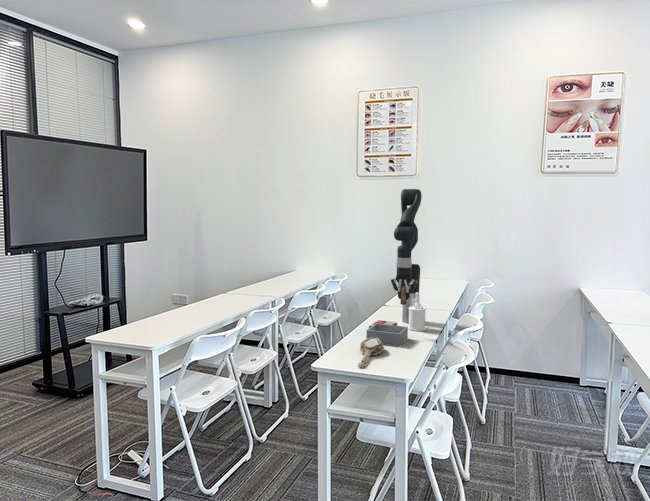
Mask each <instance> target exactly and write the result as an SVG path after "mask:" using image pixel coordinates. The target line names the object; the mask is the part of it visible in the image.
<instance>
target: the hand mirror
mask: <svg viewBox="0 0 650 501" xmlns="http://www.w3.org/2000/svg"><path fill="white" fill-rule="evenodd" d="M384 349H385V347H384V344H383V343H382V342H381V340H380V339H378V338H377V337H376V338H374V337H370V338H368V339H367V338H366V339H364V340H362V341H361V343H360V347H359V351H360V352H361V354H363V357H362V358H361V359H360V362H359V363H357V366H358V368H359V367H361V368H360V369H363V368H365V367H366V363H367V362H368V359H369V357H371V356H377V355H380V354H381V353H382V352H384ZM362 367H363V368H362Z"/></svg>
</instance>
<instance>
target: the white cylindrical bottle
mask: <svg viewBox="0 0 650 501" xmlns="http://www.w3.org/2000/svg"><path fill="white" fill-rule="evenodd" d="M414 299H415V298H414ZM414 299H413V302H414ZM413 302H412V306H411V307H409V323H408V326H407V327H408V330H410V331H413V332H423V331H425V330H426V310H427V308H426V307H424V306H422V305H421V303H420V292H419V293H418V292H416V300H415V302H416V303H415V302H414V304H415V306H414V305H413Z"/></svg>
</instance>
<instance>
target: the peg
mask: <svg viewBox="0 0 650 501" xmlns="http://www.w3.org/2000/svg"><path fill="white" fill-rule="evenodd" d="M399 304H400V305H402V306H403V305H406V304H407V300H406V287H405V285H401V299H400V303H399Z"/></svg>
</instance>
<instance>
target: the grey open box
mask: <svg viewBox="0 0 650 501" xmlns="http://www.w3.org/2000/svg"><path fill="white" fill-rule="evenodd" d="M374 323H375V322H374ZM408 327H409V326H402V325H397V326H395V325H386V324H377V323H375V324H374V325H373V326H371V327H370V328H369V327H368V328H367V329H366V339H368V338H370V337H374V338H376V337H377V338H378V339H380V340H381V342H382V343H383V345H388V346H393V345H395V346H396V347H401V346H402V345H403V344H404V343H405V342H406V341H407V340H408V339H407V338H409V336H408V335H409V334H408V332H409V331H408V330H409V329H408ZM406 339H407V340H406ZM405 340H406V341H405ZM404 341H405V342H404ZM402 343H403V344H402Z"/></svg>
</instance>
